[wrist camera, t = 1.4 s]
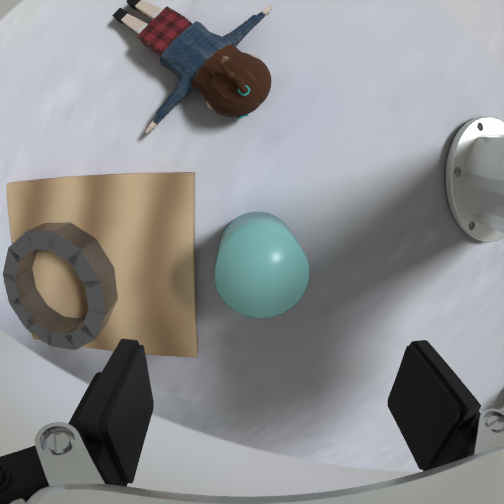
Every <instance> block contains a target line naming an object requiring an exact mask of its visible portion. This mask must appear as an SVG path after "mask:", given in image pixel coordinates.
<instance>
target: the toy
mask: <svg viewBox="0 0 504 504" xmlns="http://www.w3.org/2000/svg"><path fill="white" fill-rule="evenodd" d="M126 2H127V3H128V4H129V5H130V7H132V8H134V9H138V10H139V11H141V12H142V13H143V14H145V15H146V16H148V17H149V18H150V19H152V21H151V22H150V23H149V24H147V23H145V22H143V21H141V20H139V19H137V18H136V17H134V16H132V15H130V14H128V13H127V12H126V11H125V10H123V9H122V8H119V9H118V10H117V11H116V12H115V13H114V14H113V15H112V16H113V17H114V18H115V19H116V20H118V21H119V22H121V23H125V24H126V25H127V26H128V27H130V28H131V29H132V30H133V31H135V32H136V33H137V34H138V35H137V37H138V38H139V39H140V40H141V41H142V42H143V44H145V45H146V46H147V47H149V48H150V49H152V50H153V51H154V52H156V53H157V54H159V55H160V64H162V65H164V66H166V67H167V68H169V69H171V70H173V71H174V73H175V74H176V75H177V76H178V77H179V79H180V80H179V82H178V84H177V86H176V88H175V90H174V91H173V92H172V93H171V95H170V96H169V97H168V98H167V100H166V101H165V102H164V103H163V105H162V106H161V107H160V108H159V110H158V111H157V112H156V114H157V116H156V117H155V118H154V120H153V121H152V122H151V123H150V125H149V127H148V128H147V130H146V131H145V132H146V133H149V132H151V131H152V130H154V129H155V127H156V126H157V124H158V123H159V122H160V121H161V120H162V119H163V118H164V117H165V116H166V115H167V114H168V113H169V112H170V111H171V110H172V109H173V108H174V107H175V106H176V105H177V104H178V103H179V102H180V101H181V100H182V99H183V98H184V97H185V96H186V95H188V94H189V93H190V92H191V91H192V90H193V89H196V90H198V91H199V92H201V93H202V95H203V96H204V98H205V100H206V105H207V107H208V108H210V109H213V110H214V111H216V112H217V113H219V114H221V115H224V116H229V117H237V118H242V117H244V116H248V114H249V113H251V112H252V111H254V110H255V109H257V108H258V107H259V105H260V104H262V102H264V101H265V99H266V98H267V96H268V94H269V91H270V88H271V75H270V72H269V70H268V68H267V66H266V65H265V64H264V63H263V62H262V61H261V60H260V58H259V57H257V56H251V55H249V54H246V53H243V52H241V51H239V50H238V49H237V48H236V46H237V45H238V43H239V42H240V41H241V40H242V39H243V38H244V37H245V36H246V35H247V34H248V33H249V32H250V30H251V29H253V28H254V27H255V26H256V25H257V24H258V23H259V22H260V20H262V19H263V18H264V17H265V16H266V15H268V14H269V12H270V11H271V9H272V7H271V6H269V7H268V8H266V9H264V10H263V11H262V12H261V13H259V14H258V15H257V16H256V15H253V16H252V17H251V18H249V19H248V20H247V21H246V22H244V23H243V24H242V25H240V26H239V27H238V28H237V29H235V30H234V31H232V32H231V33H229V34H227V35H225V36H223V37H221V36H219V35H216V34H213V33H211V32H209V31H208V30H207V29H206V28H205V27H204V26H203V25H202V24H201V23H200V22H197V21H196V22H195V23H193V24H192V23H191V22H190V21H189V20H188V19H187V18H185V17H184V16H182V15H181V14H179V13H177V12H176V11H174V10H172V9H171V8H169V7H166V8H165V9H160V8H158V7H156V6H154V5H152V4H150V3H147V2H145V1H143V0H127V1H126Z"/></svg>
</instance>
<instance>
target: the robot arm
mask: <svg viewBox="0 0 504 504" xmlns="http://www.w3.org/2000/svg"><path fill="white" fill-rule="evenodd" d="M446 190H447V197H448V202H449V205H450V209H451V211H452V214H453V216H454V218H455V220H456V222H457V223H458V225H459V226H460V228H461V229H462V230H463V231H464V232H465V233H466V234H467V235H469V236H471V237H473V238H475V239H477V240H480V241H482V242H493V241H497V240H499V239H501V238H503V237H504V122H503V121H501V120H499V119H497V118H493V117H478V118H474V119H472V120H470V121H468V122H466V123H465V124H464V125H463V126H462V127H461V128H460V130H459V131H458V133H457V134H456V136H455V137H454V140H453V142H452V145H451V147H450V150H449V154H448V158H447V165H446ZM388 407H389V409H390V411H391V413H392V415H393V417H394V419H395V421H396V423H397V425H398V427H399V429H400V431H401V433H402V435H403V437H404V439H405V441H406V443H407V445H408V447H409V449H410V451H411V453H412V455H413V457H414V459H415V461H416V463H417V465H418V467H419V469H421V470H423V472H420V473H416V474H413V475H409V476H406V477H401V478H397V479H393V480H389V481H385V482H380V483H375V484H370V485H365V486H360V487H354V488H349V489H342V490H335V491H327V492H319V493H310V494H300V495H287V496H286V495H285V496H264V497H263V496H262V497H230V496H229V497H228V496H207V495H193V494H180V493H170V492H162V491H153V490H147V489H140V488H131V487H127V484H128V483H133V480H134V477H135V473H136V469H137V466H138V462H139V458H140V454H141V451H142V447H143V443H144V440H145V436H146V433H147V429H148V426H149V422H150V418H151V415H152V412H153V397H152V392H151V386H150V380H149V375H148V368H147V362H146V356H145V349H144V346H143V345H139V342H138V340H131V339H121V340H120V341H119V343H118V345H117V347H116V348H115V350H114V352H113V354H112V355H111V357H110V359H109V361H108V363H107V364H106V366H105V368H104V370H103V372H102V373H101V372H98V373H96V375H95V376H94V378H93V380H92V381H91V383H90V385H89V387H88V388H87V390H86V392H85V394H84V396H83V398H82V399H81V401H80V403H79V405H78V407H77V409H76V410H75V412H74V414H73V416H72V418H71V420H70V422H69V424H66V423H60V422H59V423H58V422H57V423H51V424H49V425H46V426H44V427H43V428H42V429H40V430H39V432H38V433H37V435H36V438H35V446H32V447H30V448H27V449H24V450H20V451H17V452H14V453H11V454H8V455H5V456H1V457H0V504H504V412H503V411H501V410H498V409H494V408H491V409H486V410H484V411H483V412H482V413H481V414H480V412H479V409H480V407H481V405H480V403H479V402H478V401H477V400H476V398H475V397H474V396H473V395H472V393H471V392H470V391H469V390H468V388H467V387H466V386H465V385H464V384H463V382H462V381H461V380H460V379H459V378H458V376H457V375H456V374H455V373H454V371H453V370H452V369H451V368H450V367H449V366H448V364H447V363H446V362H445V361H444V360H443V358H442V357H441V356H440V355H439V354H438V353H437V352H436V350H435V349H434V348H433V347H432V346H431V345H430V343H429V342H428V341H426V340H421V341H413V342H411V343H410V345H409V346H407V348H406V350H405V353H404V356H403V359H402V362H401V365H400V368H399V371H398V373H397V376H396V379H395V382H394V384H393V387H392V390H391V392H390V395H389V398H388Z"/></svg>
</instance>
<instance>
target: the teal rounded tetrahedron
mask: <svg viewBox="0 0 504 504" xmlns="http://www.w3.org/2000/svg"><path fill="white" fill-rule="evenodd" d="M214 276H215V284H216V288H217V290H218V293H219V295H220V296H221V298H222V299H223V301H224V302H225V303H226V304H227V305H228V306H229V307H230V308H231V309H233V310H234V311H236V312H238V313H240V314H242V315H245V316H248V317H253V318H268V317H273V316H277V315H279V314H282V313H284V312H286V311H287V310H289V309H290V308H292V307H293V306H294V305H295V304H296V303H297V302H298V301H299V300H300V299H301V297H302V296H303V294H304V292H305V290H306V288H307V285H308V280H309V264H308V260H307V258H306V255H305V253H304V252H303V250H302V248H301V247H300V245H299V244H298V242H297V241H296V239H295V238H294V236H293V235H292V233H291V232H290V230H289V229H288V227H287V226H286V225H285V224H284V223H283V222H282V221H281V220H280V219H278V218H277V217H275V216H273V215H271V214H268V213H263V212H252V213H247V214H244V215H241V216H239V217H238V218H236V219H234V220H233V221H232V222H231V223H230V224H229V225H228V226H227V228H226V229H225V230H224V232H223V234H222V237H221V241H220V245H219V250H218V256H217V261H216V266H215V275H214Z"/></svg>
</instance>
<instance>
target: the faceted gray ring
mask: <svg viewBox="0 0 504 504" xmlns="http://www.w3.org/2000/svg"><path fill="white" fill-rule="evenodd" d="M37 250H52V251H53V252H55V253H56V254H58V255H59V256H61V257H62V258H64V259H65V260H67V261H68V262H70V263H71V265H72V266H73V268H74V269H75V271H76V273H77V274H78V276H79V277H80V279H81V280H82V282H83V284H84V285H85V290H86V296H87V302H88V308H89V309H88V312H87V315H86V316H84V317H83V318H73V317H64V316H62V315H61V314H59V313H58V312H56V311H55V310H53V309H52V308H51V307H49V306H48V305H47V304H46V302H45V301H44V299H43V298H42V296H41V295H40V293H39V292H38V290H37V288H36V285H35V280H34V274H33V269H32V267H33V264H34V260H35V257H36V253H37ZM3 277H4V282H5V286H6V291H7V295H8V299H9V303H10V305H11V306H12V308H13V310H14V311H15V313H16V314H17V316H18V317H19V319H20V320H21V322H22V323H23V325H24V326H25V328H26V329H27V330H29V331H30V332H31V333H33V334H34V335H36V336H37V337H38V338H40V339H41V340H43V341H44V342H45V343H47V344H48V345H50V346H55V347H61V348H67V349H74V350H76V349H78V348H80V347H82V346H84V345H85V344H87V343H89V342H91V341H93V340H95V339H96V338H97V337H98V335H99V334H100V332H101V331H102V330H103V328H104V327H105V325H106V324H107V322H108V320H109V318H110V316H111V313H112V311H113V309H114V307H115V304H116V302H117V300H118V294H117V287H116V278H115V269H114V266H113V265H112V263H111V262H110V260H109V258H108V257H107V255H106V254H105V252H104V250H103V249H102V247H101V245H100V244H99V242H98V240H97V239H96V238H94V237H93V236H91V235H90V234H88V233H86V232H85V231H83V230H82V229H80V228H79V227H77V226H76V225H74V224H72V223H71V222H62V223H43V224H41V225H39V226H37V227H34V228H32V229H30V230H28V231H26V232H25V233H24V234H23V235H22V236H21V237H19V238H18V239H17V240H16V241H15V242H14V243H13V244H12V245H11V246H10V247H9V248H8V252H7V257H6V262H5V266H4V271H3Z"/></svg>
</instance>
